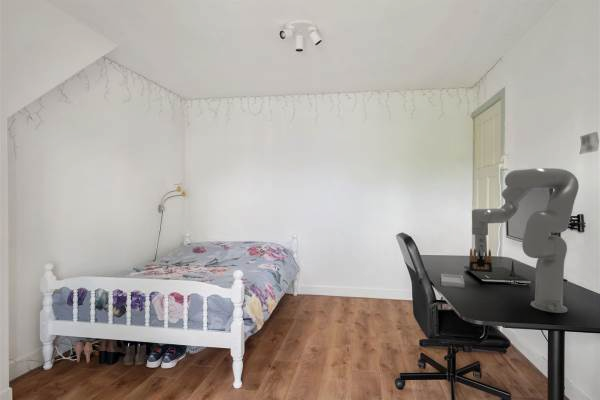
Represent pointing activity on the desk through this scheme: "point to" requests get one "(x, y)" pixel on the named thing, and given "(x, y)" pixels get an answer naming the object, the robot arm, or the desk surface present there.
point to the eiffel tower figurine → (513, 275)
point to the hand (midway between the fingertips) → (480, 266)
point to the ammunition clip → (487, 262)
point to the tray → (452, 280)
